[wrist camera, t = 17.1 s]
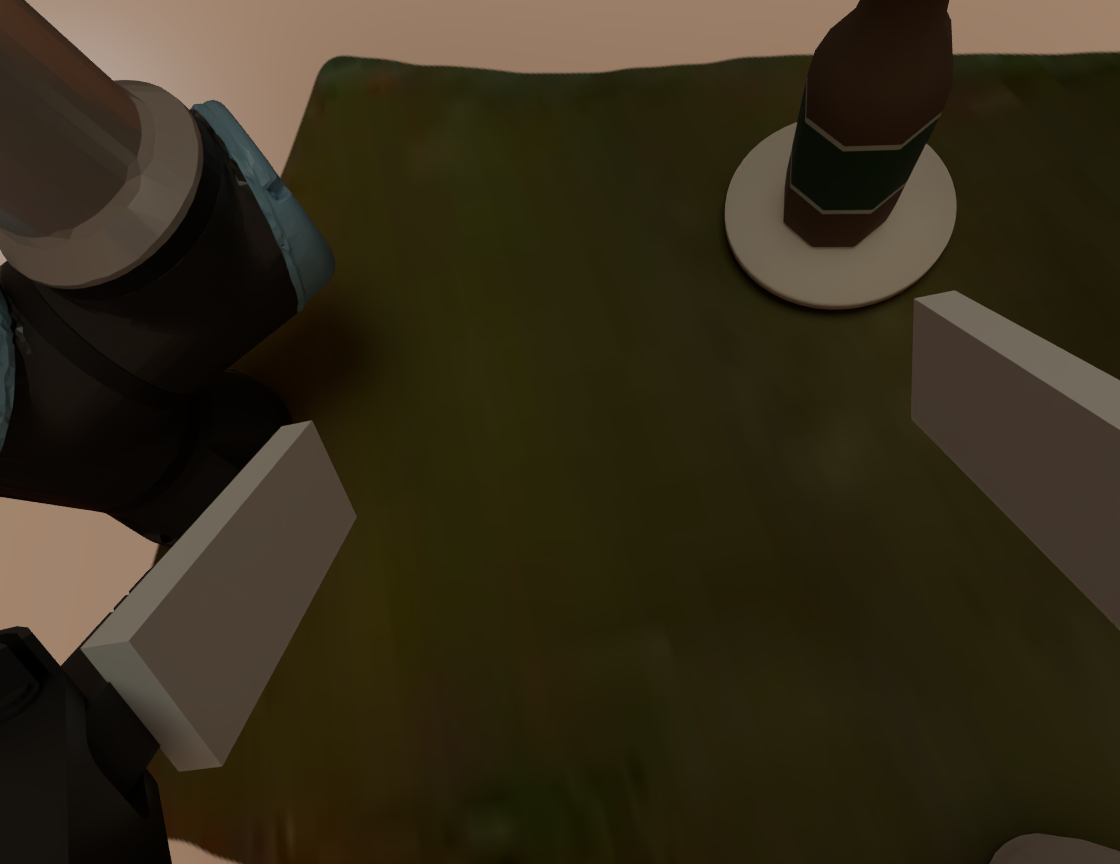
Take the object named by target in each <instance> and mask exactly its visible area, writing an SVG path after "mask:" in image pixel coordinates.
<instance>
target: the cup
mask: <svg viewBox="0 0 1120 864" xmlns="http://www.w3.org/2000/svg"><path fill="white" fill-rule="evenodd" d="M990 864H1120V851H1117V850H1114V849H1110V848H1107V847H1104V846H1101V845H1098V844H1095V843H1092V842H1089V841H1085V840H1082V839H1075V838H1067V837H1060V836H1059V837H1058V836H1055V835H1047V834H1040V833H1035V834H1028V835H1021V836H1018V837H1016V838H1014V839H1012V840H1010V841H1008V842H1006V843H1005V844H1004V845H1003V846H1002V847H1001V848H1000V849H999V850H998V851H997V852H996V853H995V854H994V856H993V858H992V860H991V862H990Z"/></svg>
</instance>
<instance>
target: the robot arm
mask: <svg viewBox="0 0 1120 864" xmlns="http://www.w3.org/2000/svg"><path fill="white" fill-rule="evenodd" d="M0 250H1V251H2V254H3V255H4V256H5V258H6V259H7V261H6V262H5V263H3V265H1V266H0V497H6V498H12V499H19V500H25V501H31V502H38V503H45V504H52V505H58V506H65V507H71V508H78V509H84V510H92V511H97V512H103V513H106V514H108V515H110V516H111V517H113V518H115V519H116V520H117V521H119V522H121V523H122V524H124V525H125V526H127V527H129V528H130V529H132V530H133V531H135V532H137V533H138V534H140V535H142V536H143V537H145V538H146V539H148V540H150V541H152V542H155V543H158V544H160V545H163V546H167V547H172V548H171V549H170V550H169V551H168V552H167V553H166V554H165V556H164V557H163V558H162V559H161V560H160V561H159V562H158V563H157V564H156V565H155V566H154V567H152V568H151V569H150V570H148V571H147V572H146V573H145V574H144V576H143V577H142V578H141V579H140V580H139V581H138V582H137V583H136V584H135V585H134V587H133V588H132V589H131V590H130V591H129V595H125V596H124V597H123V599H122V600H121V601H120V602H119V603H118V604H117V605H116V606H115V607H114V612H111V613H109V614H108V615H107V616H106V617H105V618H104V619H103V620H102V622H101V623H100V624H99V625H98V626H97V627H96V628H95V629H94V630H93V631H92V632H91V634H90V635H89V636H88V637H87V638H86V639H85V640H84V641H83V642H82V643H81V645H80V646H79V647H78V648H77V649H76V650H75V651H74V652H73V653H72V654H71V655H70V657H69V658H68V659H67V660H66V661H65V662H64V663H63V664H62V665H61V666H60V665H59V664H58V663H57V662H56V660H55V659H54V658H53V657H52V656H51V654H50V653H49V652H48V651H47V650H46V648H45V647H44V646H43V645H42V644H41V643H40V641H39V640H38V639H37V638H36V637H35V635H34V634H33V633H32V632H31V631H30V629H29V628H27V627H19V626H16V627H12V628H8V629H4V630H0V864H172V862H171V856H170V851H169V846H168V840H167V834H166V828H165V823H164V817H163V812H162V806H161V801H160V795H159V790H158V784H157V783H156V781H155V779H154V778H153V776H152V775H151V774H150V773H149V772H148V770H147V769H146V767H147V766H148V764H149V762H150V761H151V759H152V758H153V756H154V755H155V753H156V752H157V750H158V749H159V747H160V749H161V750H162V751H163V752H164V754H165V755H166V756H167V757H168V759H169V760H170V761H171V762H172V764H173V765H174V766H175V767H176V769H177V770H178V771H179V772H180V771H188V770H196V769H204V768H213V767H221V766H223V764H224V762H225V760H226V759H227V757H228V755H229V753H230V751H231V749H232V747H233V746H234V744H235V742H236V740H237V738H238V736H239V734H240V733H241V731H242V729H243V727H244V725H245V723H246V721H247V720H248V718H249V716H250V714H251V712H252V710H253V708H254V707H255V705H256V703H257V701H258V699H259V697H260V695H261V694H262V692H263V690H264V688H265V686H266V684H267V682H268V681H269V679H270V677H271V675H272V673H273V671H274V669H275V668H276V666H277V664H278V662H279V660H280V658H281V656H282V655H283V653H284V651H285V649H286V647H287V645H288V644H289V642H290V640H291V638H292V636H293V634H294V632H295V631H296V629H297V627H298V625H299V623H300V621H301V619H302V618H303V616H304V614H305V612H306V610H307V608H308V606H309V605H310V603H311V601H312V599H313V597H314V595H315V593H316V592H317V590H318V588H319V586H320V584H321V582H322V580H323V579H324V577H325V575H326V573H327V571H328V569H329V567H330V566H331V564H332V562H333V560H334V558H335V556H336V554H337V553H338V551H339V549H340V547H341V545H342V543H343V541H344V540H345V538H346V536H347V534H348V532H349V530H350V528H351V527H352V525H353V523H354V521H355V519H356V517H357V516H356V514H355V512H354V510H353V508H352V506H351V503H350V501H349V499H348V497H347V495H346V493H345V490H344V488H343V486H342V484H341V482H340V480H339V477H338V475H337V473H336V471H335V469H334V467H333V465H332V462H331V460H330V458H329V456H328V454H327V452H326V449H325V447H324V445H323V443H322V441H321V439H320V436H319V434H318V432H317V430H316V428H315V426H314V424H313V421H312V420H311V421H306V422H301V423H296V424H292V421H291V418H290V415H289V413H288V411H287V409H286V407H285V405H284V404H283V402H282V401H281V399H280V398H279V397H278V396H277V395H276V394H275V393H274V392H273V391H272V390H271V389H270V388H268V387H267V386H265V385H264V384H262V383H260V382H258V381H256V380H254V379H252V378H251V377H249V376H247V375H245V374H242V373H240V372H237V371H233V370H229V369H227V368H228V367H230V366H231V365H232V364H233V363H235V362H236V361H237V360H239V359H240V358H241V357H242V356H244V355H245V354H246V353H247V352H249V351H250V350H251V349H253V348H254V347H255V346H256V345H258V344H259V343H260V342H261V341H263V340H264V339H265V338H266V337H268V336H269V335H270V334H272V333H273V332H274V331H275V330H277V329H278V328H279V327H280V326H282V325H283V324H284V323H286V322H287V321H288V320H289V319H291V318H292V317H293V316H294V315H296V314H297V313H300V312H301V311H302V310H303V309H304V307H305V304H306V303H307V302H308V301H309V300H310V299H311V298H312V297H314V296H315V295H316V294H317V293H318V292H319V291H320V290H321V289H322V288H323V287H324V286H325V285H326V284H327V283H328V282H329V281H330V280H331V278H332V277H333V274H334V271H335V259H334V256H333V253H332V251H331V249H330V247H329V246H328V244H327V243H326V241H325V239H324V238H323V236H322V235H321V233H320V232H319V231H318V229H317V228H316V226H315V225H314V223H313V222H312V221H311V219H310V218H309V216H308V215H307V214H306V212H305V211H304V209H303V208H302V207H301V205H300V204H299V203H298V201H297V200H296V199H295V197H294V196H293V195H292V193H291V192H290V191H289V189H288V188H286V186H285V185H284V184H283V181H282V180H281V179H280V177H279V176H278V175H277V174H276V172H275V171H274V169H273V167H272V166H271V165H270V163H269V162H268V160H267V159H266V158H265V156H264V155H263V154H262V152H261V151H260V150H259V149H258V147H257V146H256V145H255V143H254V142H253V140H252V139H251V138H250V137H249V135H248V134H247V133H246V131H245V130H244V129H243V128H242V126H241V125H240V124H239V123H238V121H237V120H236V119H235V118H234V116H233V115H232V114H231V113H230V112H229V110H228V109H227V108H226V107H225V106H224V105H223V104H222V103H220V102H218V101H215V100H211V101H207V102H205V103H203V104H194V105H193V106H192V108H191V109H190V110H189V109H188V108H187V107H186V106H185V105H184V104H183V103H182V102H181V101H180V100H178V99H177V98H176V97H174V96H173V95H172V94H170V93H169V92H167V91H166V90H164V89H163V88H161V87H159V86H156V85H153V84H150V83H147V82H141V81H133V80H132V81H131V80H118V81H113V80H111V78H110V77H109V76H107V75H106V74H105V73H104V72H103V71H102V70H101V69H100V68H99V67H97V66H96V65H95V64H94V63H93V62H92V61H91V60H90V59H89V58H88V57H86V56H85V55H84V54H83V53H82V52H81V51H80V50H79V49H78V48H77V47H75V46H74V45H73V44H72V43H71V42H70V41H69V40H68V39H67V38H66V37H64V36H63V35H62V34H61V33H60V32H59V31H58V30H57V29H56V28H55V27H53V26H52V25H51V24H50V23H49V22H48V21H47V20H46V19H45V18H43V17H42V16H41V15H40V14H39V13H38V12H37V11H36V10H35V9H34V8H33V7H31V6H30V5H29V4H28V3H27V2H26V1H25V0H0ZM911 419H912V420H913V421H914V422H915V423H916V424H917V425H918V426H919V427H920V428H921V429H922V430H923V431H924V432H925V433H926V434H927V435H928V436H929V437H930V438H931V439H932V440H933V441H934V442H935V443H936V444H937V445H938V446H939V447H940V448H941V450H942V451H943V452H944V453H945V454H946V455H947V456H948V457H949V458H950V459H951V460H952V461H953V462H954V463H955V464H956V465H957V466H958V467H959V468H960V469H961V470H962V471H963V472H964V473H965V474H966V475H967V476H968V477H969V478H970V479H971V480H972V481H973V482H974V483H975V484H976V485H977V486H978V487H979V488H980V489H981V490H982V491H983V492H984V493H985V494H986V495H987V496H988V497H989V498H990V499H991V500H992V501H993V502H994V503H995V504H996V505H997V506H998V507H999V508H1000V509H1001V510H1002V511H1003V512H1004V513H1005V514H1006V515H1007V516H1008V517H1009V518H1010V519H1011V521H1012V522H1013V523H1014V524H1015V525H1016V526H1017V527H1018V528H1019V529H1020V530H1021V531H1022V532H1023V533H1024V534H1025V535H1026V536H1027V537H1028V538H1029V539H1030V540H1031V541H1032V542H1033V543H1034V544H1035V545H1036V546H1037V547H1038V548H1039V549H1040V550H1041V551H1042V552H1043V553H1044V554H1045V555H1046V556H1047V557H1048V558H1049V559H1050V560H1051V561H1052V562H1053V563H1054V564H1055V565H1056V566H1057V567H1058V568H1059V569H1060V570H1061V571H1062V572H1063V573H1064V574H1065V575H1066V576H1067V577H1068V578H1069V579H1070V580H1071V581H1072V582H1073V583H1074V584H1075V585H1076V586H1077V587H1078V588H1079V589H1080V591H1081V592H1082V593H1083V594H1084V595H1085V596H1086V597H1087V598H1088V599H1089V600H1090V601H1091V602H1092V603H1093V604H1094V605H1095V606H1096V607H1097V608H1098V609H1099V610H1100V611H1101V612H1102V613H1103V614H1104V615H1105V616H1106V617H1107V618H1108V619H1109V620H1110V621H1111V622H1112V623H1113V624H1114V625H1115V626H1116V627H1117V628H1118V629H1119V630H1120V380H1118V379H1116V378H1114V377H1112V376H1110V375H1109V374H1107V373H1105V372H1103V371H1101V370H1099V369H1098V368H1096V367H1094V366H1092V365H1090V364H1088V363H1087V362H1085V361H1083V360H1081V359H1079V358H1077V357H1076V356H1074V355H1072V354H1070V353H1068V352H1066V351H1065V350H1063V349H1061V348H1059V347H1057V346H1055V345H1054V344H1052V343H1050V342H1048V341H1046V340H1044V339H1043V338H1041V337H1039V336H1037V335H1035V334H1033V333H1032V332H1030V331H1028V330H1026V329H1024V328H1022V327H1021V326H1019V325H1017V324H1015V323H1013V322H1011V321H1010V320H1008V319H1006V318H1004V317H1002V316H1000V315H999V314H997V313H995V312H993V311H991V310H989V309H988V308H986V307H984V306H982V305H980V304H978V303H977V302H975V301H973V300H971V299H969V298H968V297H966V296H964V295H962V294H960V293H958V292H957V291H950V292H945V293H940V294H935V295H930V296H925V297H920V298H915V299H914V324H913V363H912V402H911Z"/></svg>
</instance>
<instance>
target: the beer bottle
mask: <svg viewBox="0 0 1120 864" xmlns="http://www.w3.org/2000/svg"><path fill="white" fill-rule="evenodd" d="M948 3H949V0H860V1H859V3H858V5H857V7H856V8H855V9H854V10H853V11H852V12H850V13H849V14H848V15H847V16H846V17H844V18H843V19H842V20H841V21H840V22H838V23H837V24H836V25H835V26H834V27H832V28H831V29H830V31H829V32H828V33H827V35H826V36H825V37H824V39H823V40H822V42H821V43H820V44H819V46H818V47H817V49H816V50H815V53H814V56H813V59H812V62H811V65H810V69H809V72H808V75H807V79H806V84H805V89H804V93H803V98H802V103H801V107H800V112H799V117H798V121H797V126H796V130H795V135H794V140H793V144H792V149H791V154H790V158H789V163H788V168H787V172H786V180H785V190H784V217H783V222H784V223H785V224H786V225H787V226H788V227H789V228H791V229H792V230H793V231H794V232H795V233H796V234H798V235H799V236H800V237H801V238H802V239H803V240H805V241H806V242H807V243H808V244H809V245H811V246H812V247H854V246H856V245H857V244H858V243H860V242H861V241H862V240H863V239H864V238H866V237H867V236H868V235H869V234H870V233H872V232H873V231H874V230H875V229H877V228H878V227H879V226H880V225H881V224H883V223H884V222H885V221H886V220H887V218H888V217H889V215H890V213H891V212H892V210H893V208H894V207H895V205H896V203H897V201H898V199H899V197H900V195H901V193H902V191H903V189H904V187H905V185H906V183H907V181H908V179H909V177H910V175H911V173H912V171H913V169H914V167H915V165H916V163H917V161H918V159H919V157H920V155H921V153H922V151H923V149H924V147H925V145H926V143H927V141H928V139H929V137H930V135H931V133H932V131H933V129H934V127H935V125H936V123H937V121H938V119H939V117H940V115H941V113H942V111H943V108H944V105H945V103H946V100H947V98H948V95H949V92H950V90H951V87H952V68H953V54H952V30H951V19H950V17H949V15H948V13H947V8H948Z"/></svg>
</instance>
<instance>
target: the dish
mask: <svg viewBox="0 0 1120 864" xmlns="http://www.w3.org/2000/svg"><path fill="white" fill-rule="evenodd" d="M796 126H797V122H796V123H794V124H791V125H789V126H786V127H784V128H782V129H781V130H779V131H777V132H775V133H773V134H772V135H770V136H769V137H767V138H766V139H764V140H763V141H762V142H761V143H759V144H758V145H757V146H756V147H755V148H754V149H753V150H752V151H751V152H750V153H749V154H748V155H747V156H746V157H745V158H744V160H743V161H742V163H741V164H740V165H739V167H738V168H737V170H736V172H735V174H734V176H733V178H732V180H731V183H730V186H729V189H728V192H727V197H726V203H725V231H726V236H727V240H728V243H729V246H730V249H731V251H732V253H733V255H734V257H735V259H736V260H737V262H738V263H739V265H740V266H741V268H742V269H743V270H744V271H745V272H746V273H747V274H748V276H749V277H750V278H751V279H753V280H754V281H755V282H756V283H757V284H758V285H760V286H761V287H762V288H764V289H765V290H767V291H769V292H770V293H772V294H774V295H776V296H778V297H780V298H782V299H784V300H786V301H789V302H792V303H795V304H798V305H802V306H807V307H811V308H818V309H828V310H836V309H852V308H860V307H864V306H868V305H872V304H876V303H879V302H881V301H884V300H887V299H889V298H891V297H893V296H895V295H897V294H899V293H901V292H903V291H904V290H906V289H907V288H909V287H910V286H912V285H913V284H915V283H916V282H917V281H918V280H919V279H920V278H921V277H923V276H924V275H925V274H926V273H927V272H928V270H929V269H930V268H931V267H932V266H933V264H934V263H935V262H936V260H937V259H938V258H939V256H940V255H941V253H942V251H943V250H944V248H945V247H946V245H947V243H948V241H949V238H950V236H951V234H952V231H953V227H954V223H955V219H956V194H955V190H954V186H953V182H952V179H951V177H950V175H949V172H948V170H947V168H946V167H945V165H944V163H943V162H942V160H941V159H940V157H939V156H938V155H937V154H936V153H935V152H934V150H933V149H932V148H931V147H930V146H928V145H927V144H926V145H925V147H924V149H923V151H922V153H921V155H920V157H919V159H918V161H917V163H916V165H915V167H914V169H913V171H912V173H911V175H910V177H909V179H908V181H907V183H906V185H905V187H904V189H903V191H902V193H901V195H900V197H899V199H898V201H897V203H896V205H895V207H894V208H893V210H892V212H891V213H890V215H889V217H888V218H887V220H886V221H885V222H884V223H883V224H881V225H880V226H879V227H878V228H877V229H875V230H874V231H873V232H872V233H870V234H869V235H868V236H867V237H866V238H864V239H863V240H862V241H861V242H860V243H858V244H857V245H856V246H854V247H812V246H811V245H809V244H808V243H807V242H806V241H805V240H803V239H802V238H801V237H800V236H799V235H798V234H796V233H795V232H794V231H793V230H792V229H791V228H789V227H788V226H787V225H786V224H785V223H784V222H783V217H784V190H785V180H786V172H787V168H788V163H789V158H790V154H791V149H792V144H793V140H794V135H795V130H796Z"/></svg>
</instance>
